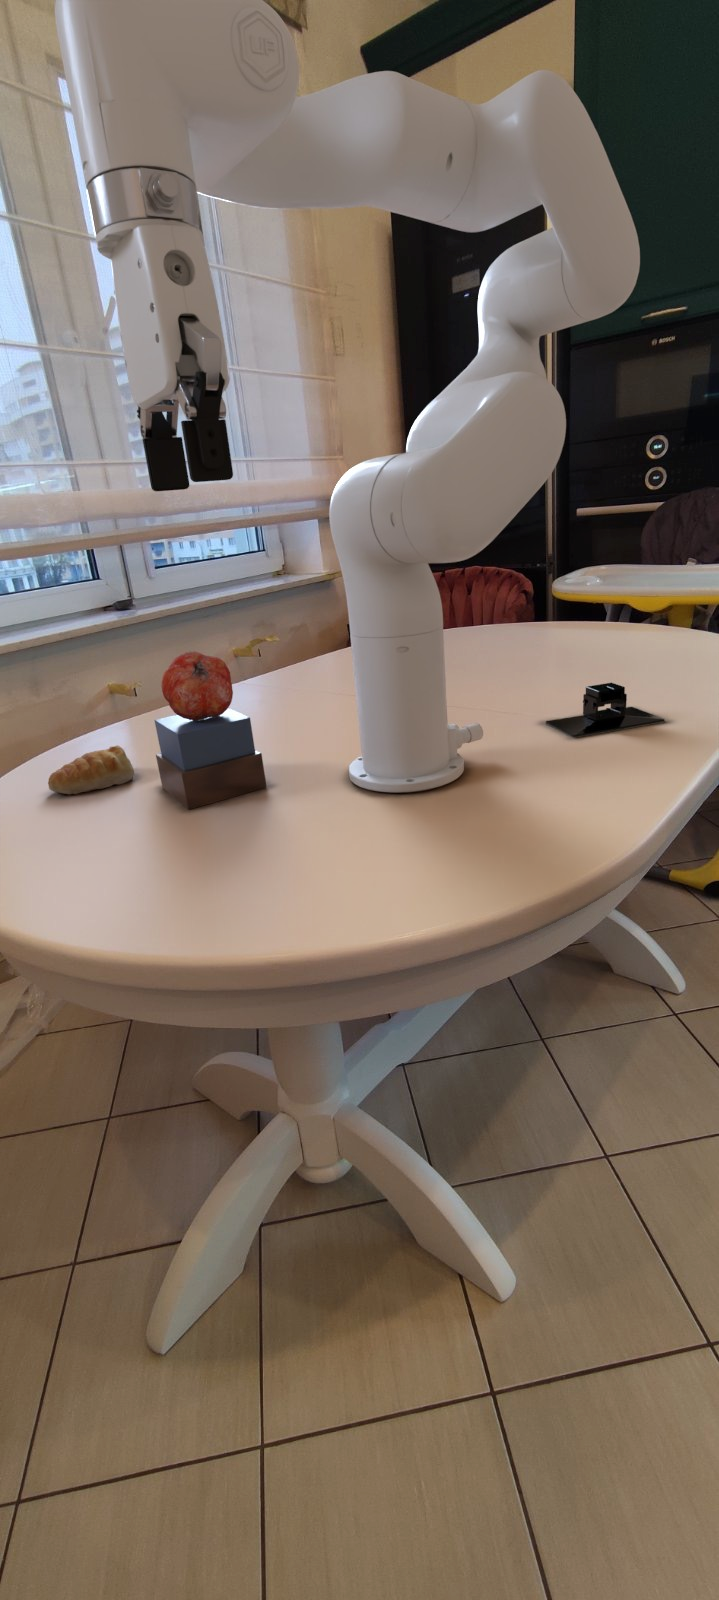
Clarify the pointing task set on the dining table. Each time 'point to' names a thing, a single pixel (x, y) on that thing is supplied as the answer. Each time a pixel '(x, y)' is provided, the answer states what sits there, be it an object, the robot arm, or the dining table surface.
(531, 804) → the dining table surface
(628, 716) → the build plate
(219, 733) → the top block
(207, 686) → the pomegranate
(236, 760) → the base block
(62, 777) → the pastry
